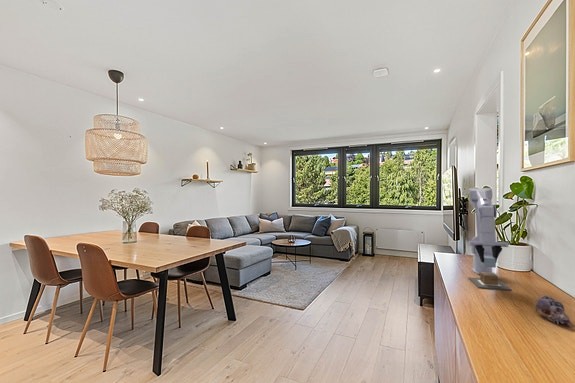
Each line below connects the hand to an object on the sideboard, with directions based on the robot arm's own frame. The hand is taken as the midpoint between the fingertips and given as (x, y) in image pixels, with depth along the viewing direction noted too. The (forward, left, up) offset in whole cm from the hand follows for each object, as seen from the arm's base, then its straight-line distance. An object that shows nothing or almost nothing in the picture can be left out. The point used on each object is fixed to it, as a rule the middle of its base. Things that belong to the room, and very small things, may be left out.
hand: (488, 262), depth 121 cm
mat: (0, 0, -10) cm, 10 cm away
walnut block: (0, 0, -9) cm, 9 cm away
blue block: (0, 0, -2) cm, 2 cm away
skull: (+34, +7, -10) cm, 36 cm away
